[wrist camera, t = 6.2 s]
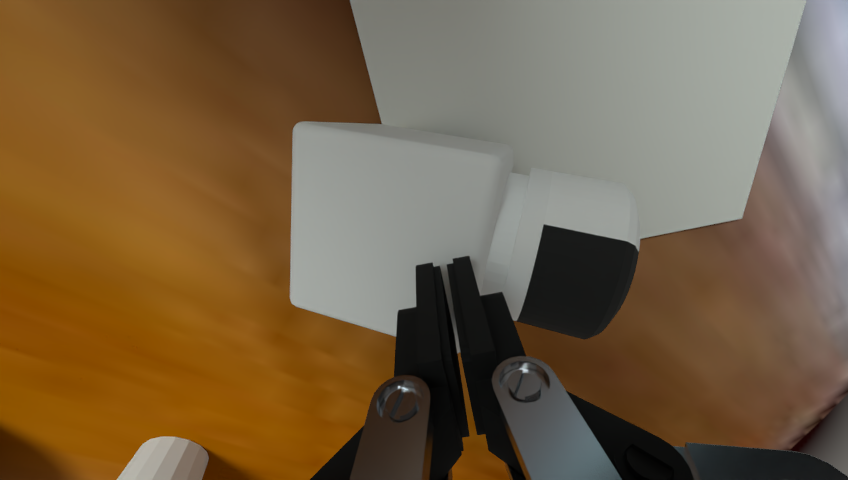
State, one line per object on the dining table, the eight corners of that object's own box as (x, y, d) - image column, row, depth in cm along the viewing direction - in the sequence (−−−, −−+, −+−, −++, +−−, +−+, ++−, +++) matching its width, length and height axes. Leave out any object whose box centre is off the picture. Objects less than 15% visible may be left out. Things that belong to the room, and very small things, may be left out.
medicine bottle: (364, 251, 21) (581, 305, 18) (285, 307, 14) (607, 405, 12) (375, 123, 18) (627, 163, 16) (287, 119, 12) (693, 187, 9)
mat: (346, -17, 15) (345, -18, 15) (834, -137, 14) (848, -142, 14) (422, 277, 24) (422, 281, 23) (735, 214, 22) (741, 218, 22)
